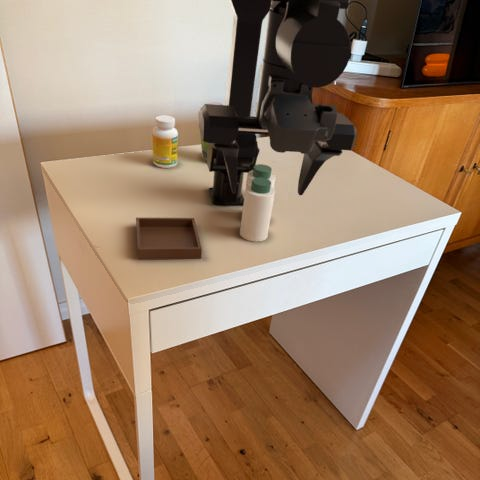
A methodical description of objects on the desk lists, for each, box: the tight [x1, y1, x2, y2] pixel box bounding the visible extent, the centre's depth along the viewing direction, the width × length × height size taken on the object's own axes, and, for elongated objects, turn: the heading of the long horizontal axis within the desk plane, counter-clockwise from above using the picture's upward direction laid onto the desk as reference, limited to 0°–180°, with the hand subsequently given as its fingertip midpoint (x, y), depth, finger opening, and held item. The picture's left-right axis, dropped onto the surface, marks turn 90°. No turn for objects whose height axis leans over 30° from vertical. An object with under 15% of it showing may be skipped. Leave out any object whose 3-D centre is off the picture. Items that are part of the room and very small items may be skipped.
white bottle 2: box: [239, 177, 276, 243], centre depth 78 cm, size 5×5×10 cm
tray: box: [135, 217, 203, 260], centre depth 76 cm, size 10×10×2 cm
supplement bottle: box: [151, 114, 179, 169], centre depth 97 cm, size 5×5×10 cm
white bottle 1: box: [245, 163, 276, 189], centre depth 83 cm, size 5×5×10 cm
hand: (267, 193), depth 61 cm, fingers open, 9 cm apart
